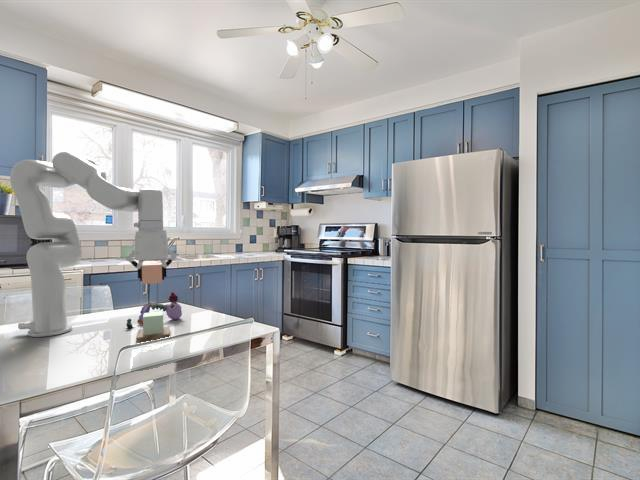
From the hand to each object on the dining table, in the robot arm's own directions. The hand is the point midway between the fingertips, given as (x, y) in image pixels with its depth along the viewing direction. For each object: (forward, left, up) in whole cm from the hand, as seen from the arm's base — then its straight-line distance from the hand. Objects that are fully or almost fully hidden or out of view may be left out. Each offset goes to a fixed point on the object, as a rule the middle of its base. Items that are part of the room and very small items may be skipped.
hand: (152, 279), depth 123 cm
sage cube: (0, 0, -18) cm, 18 cm away
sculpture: (-8, +14, -20) cm, 26 cm away
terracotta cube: (0, +1, -1) cm, 1 cm away
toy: (+2, +22, -19) cm, 29 cm away
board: (0, 0, -19) cm, 19 cm away
